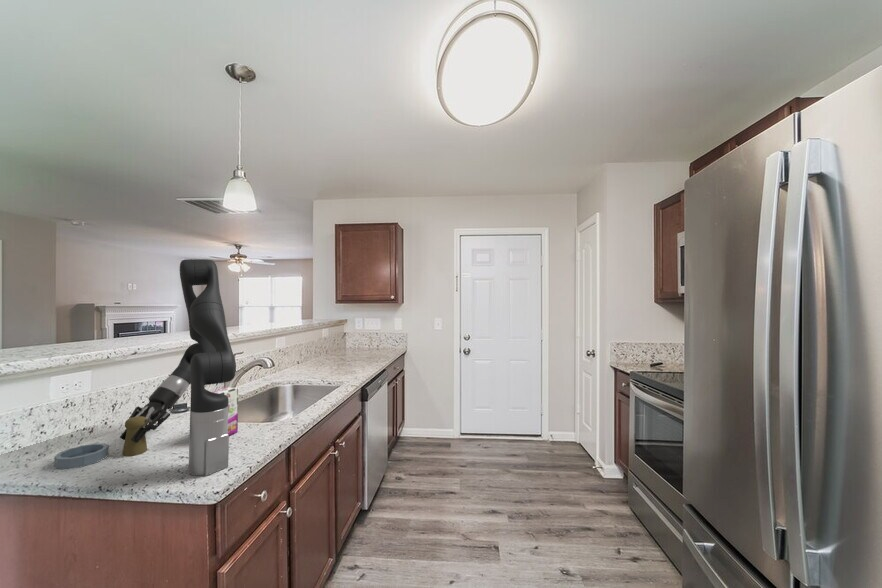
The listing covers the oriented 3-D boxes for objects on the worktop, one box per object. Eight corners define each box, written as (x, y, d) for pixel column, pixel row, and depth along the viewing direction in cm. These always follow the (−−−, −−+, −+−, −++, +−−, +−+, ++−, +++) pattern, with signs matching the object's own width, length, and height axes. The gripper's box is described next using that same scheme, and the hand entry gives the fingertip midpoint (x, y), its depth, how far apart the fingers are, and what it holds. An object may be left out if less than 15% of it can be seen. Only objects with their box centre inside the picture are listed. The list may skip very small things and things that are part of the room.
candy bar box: (226, 431, 129) (227, 386, 129) (238, 432, 128) (239, 387, 128) (200, 443, 118) (201, 394, 118) (213, 444, 117) (214, 395, 117)
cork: (132, 457, 107) (133, 421, 107) (116, 455, 108) (117, 419, 108) (152, 449, 112) (153, 415, 113) (137, 447, 114) (138, 413, 114)
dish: (114, 456, 107) (114, 447, 107) (63, 472, 97) (63, 462, 97) (98, 449, 112) (99, 440, 112) (48, 463, 102) (49, 453, 102)
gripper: (147, 384, 120) (102, 431, 108) (177, 387, 116) (134, 437, 104) (162, 395, 125) (122, 442, 113) (192, 399, 121) (153, 448, 109)
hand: (128, 439), depth 108 cm, fingers closed on cork, 4 cm apart
